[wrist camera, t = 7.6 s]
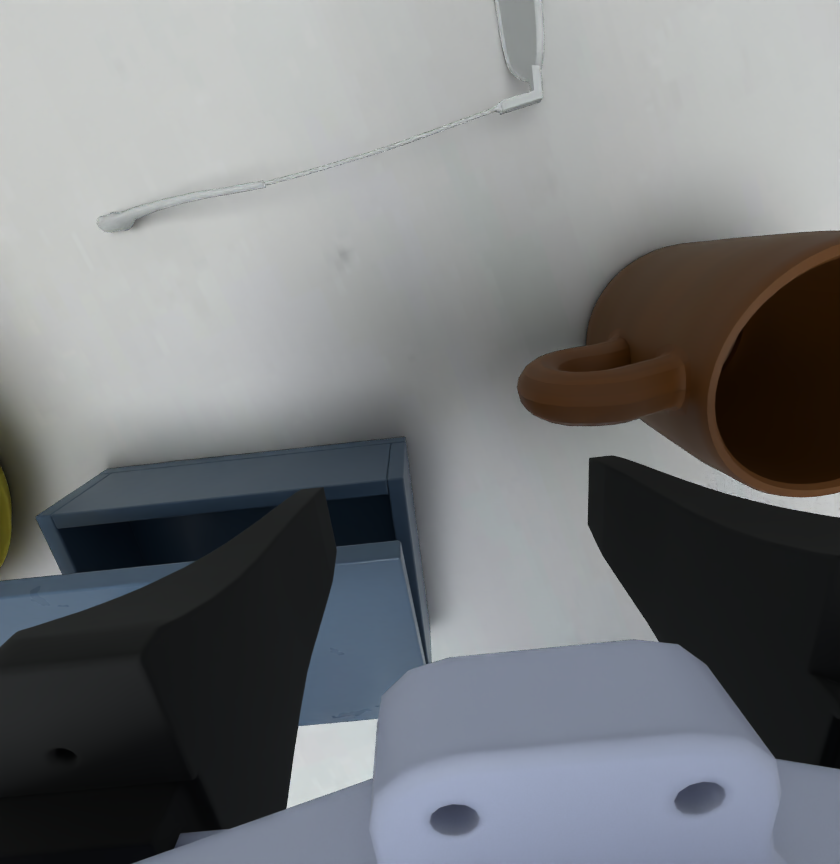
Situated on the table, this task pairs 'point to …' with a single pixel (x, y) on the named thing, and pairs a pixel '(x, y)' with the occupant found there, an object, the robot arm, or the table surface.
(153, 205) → the eyeglasses
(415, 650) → the lid
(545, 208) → the table surface
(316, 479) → the blue-grey shallow box
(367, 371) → the table surface
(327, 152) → the table surface
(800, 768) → the robot arm
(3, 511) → the flowerpot
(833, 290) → the mug
